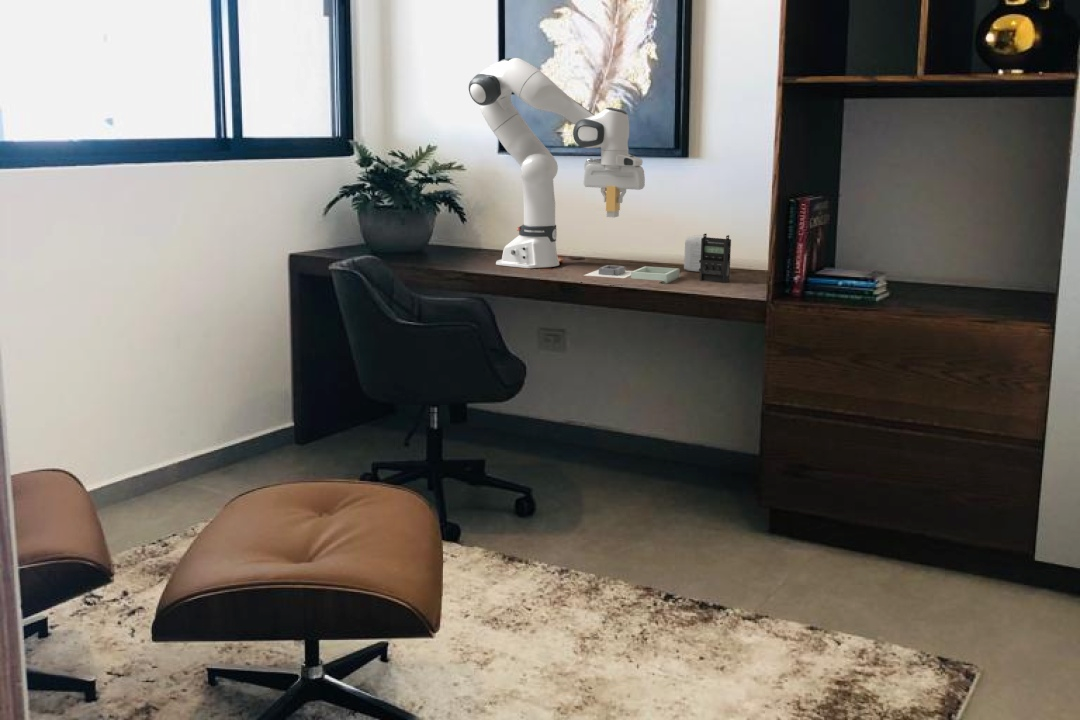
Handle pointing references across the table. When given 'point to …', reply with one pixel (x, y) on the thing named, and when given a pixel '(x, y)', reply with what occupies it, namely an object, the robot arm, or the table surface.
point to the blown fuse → (612, 201)
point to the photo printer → (693, 253)
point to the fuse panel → (611, 272)
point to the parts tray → (656, 274)
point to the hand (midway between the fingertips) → (613, 202)
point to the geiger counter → (715, 259)
